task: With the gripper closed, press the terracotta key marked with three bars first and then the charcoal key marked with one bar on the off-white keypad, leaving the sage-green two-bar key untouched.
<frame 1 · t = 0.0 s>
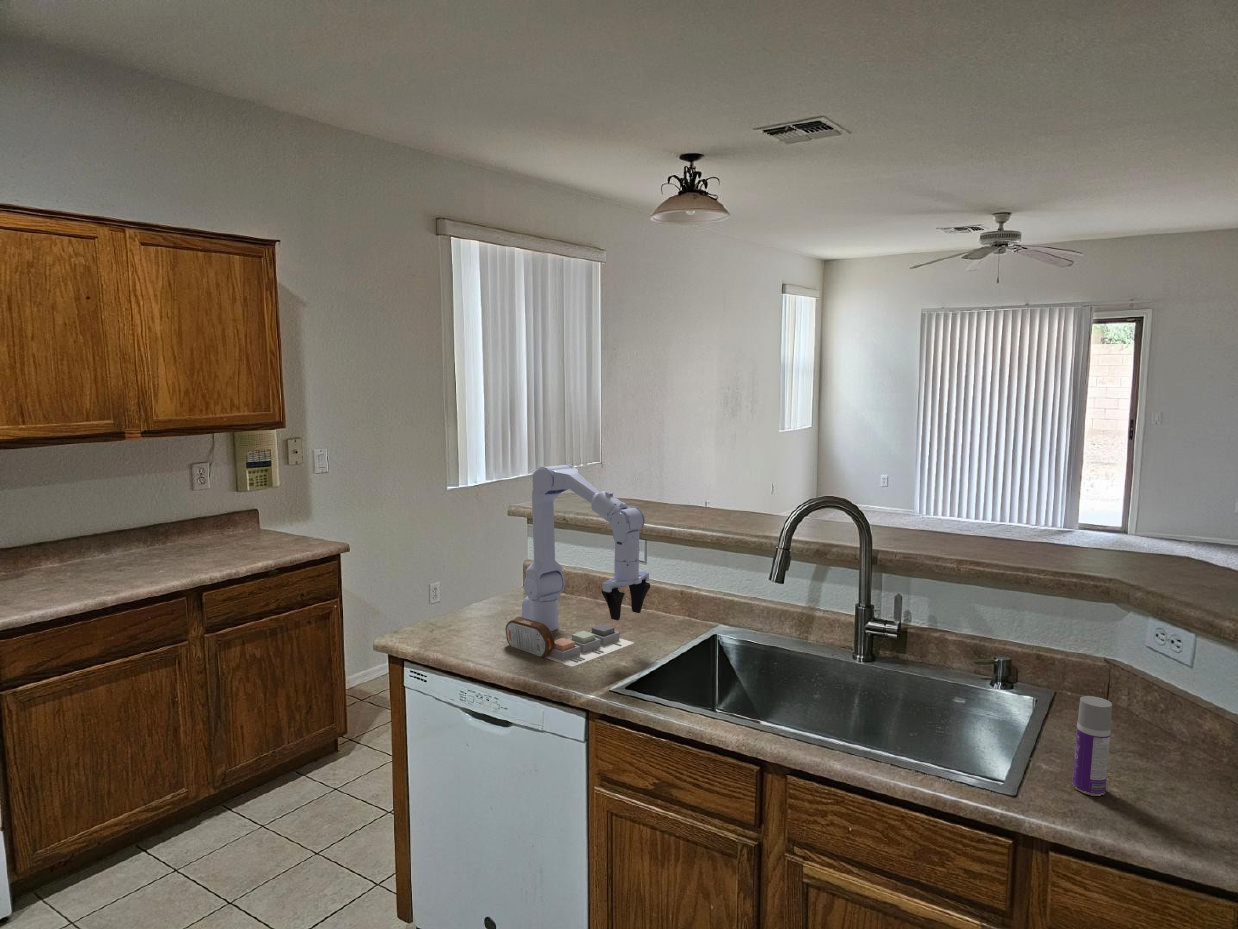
hand: (625, 615, 185), 10 cm above the worktop, tool pointing down, fingers open, 7 cm apart
container: (1088, 790, 128), on the worktop
key two: (583, 638, 189), point 3 cm above the worktop, slide at 0.0 cm
tin: (529, 655, 186), on the worktop, touching keypad
keypad: (587, 652, 188), on the worktop
key one: (603, 631, 194), point 3 cm above the worktop, slide at 0.0 cm
key three: (562, 646, 184), point 3 cm above the worktop, slide at 0.1 cm
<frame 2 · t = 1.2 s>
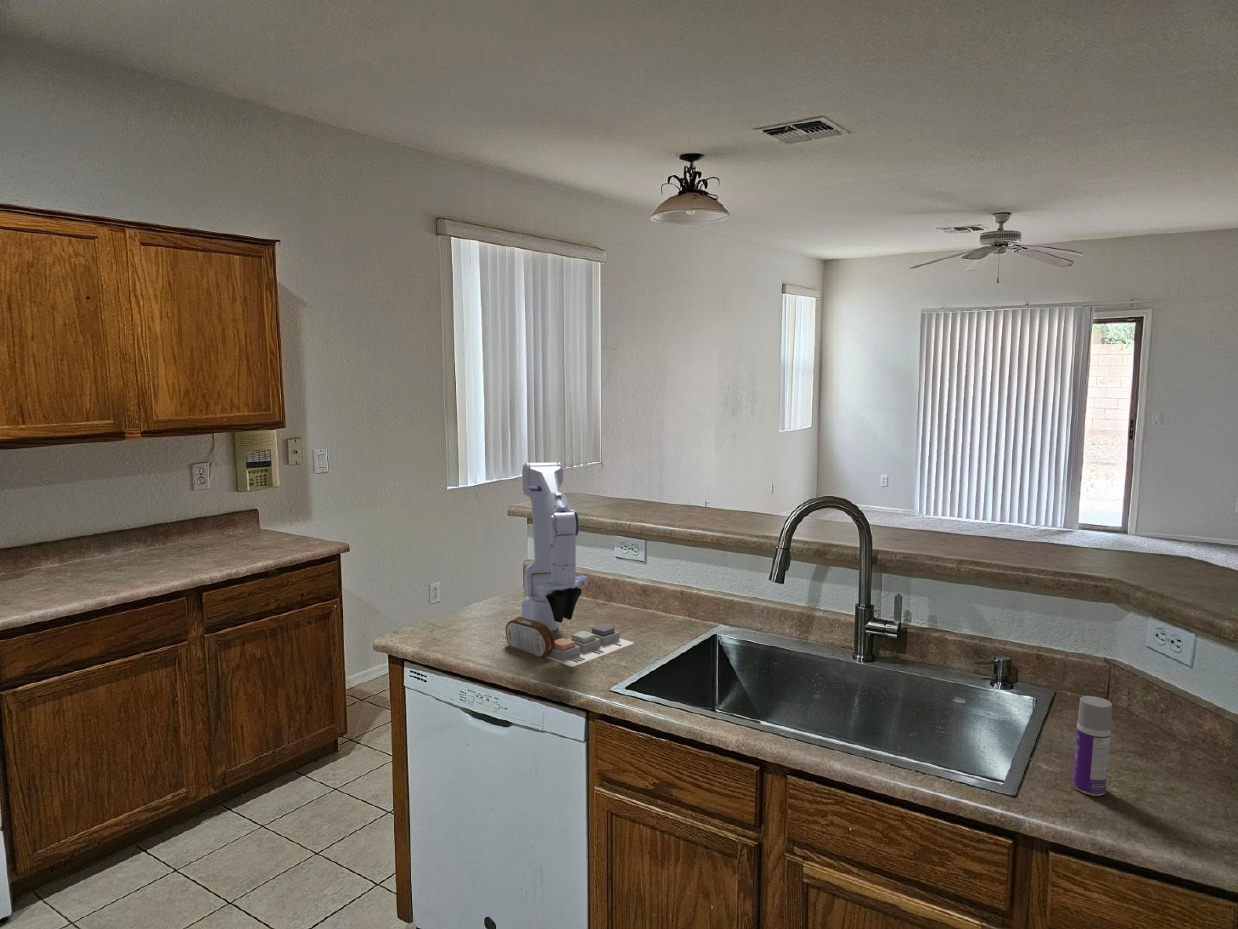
hand: (563, 620, 183), 9 cm above the worktop, tool pointing down, fingers closed
nothing on the worktop moved.
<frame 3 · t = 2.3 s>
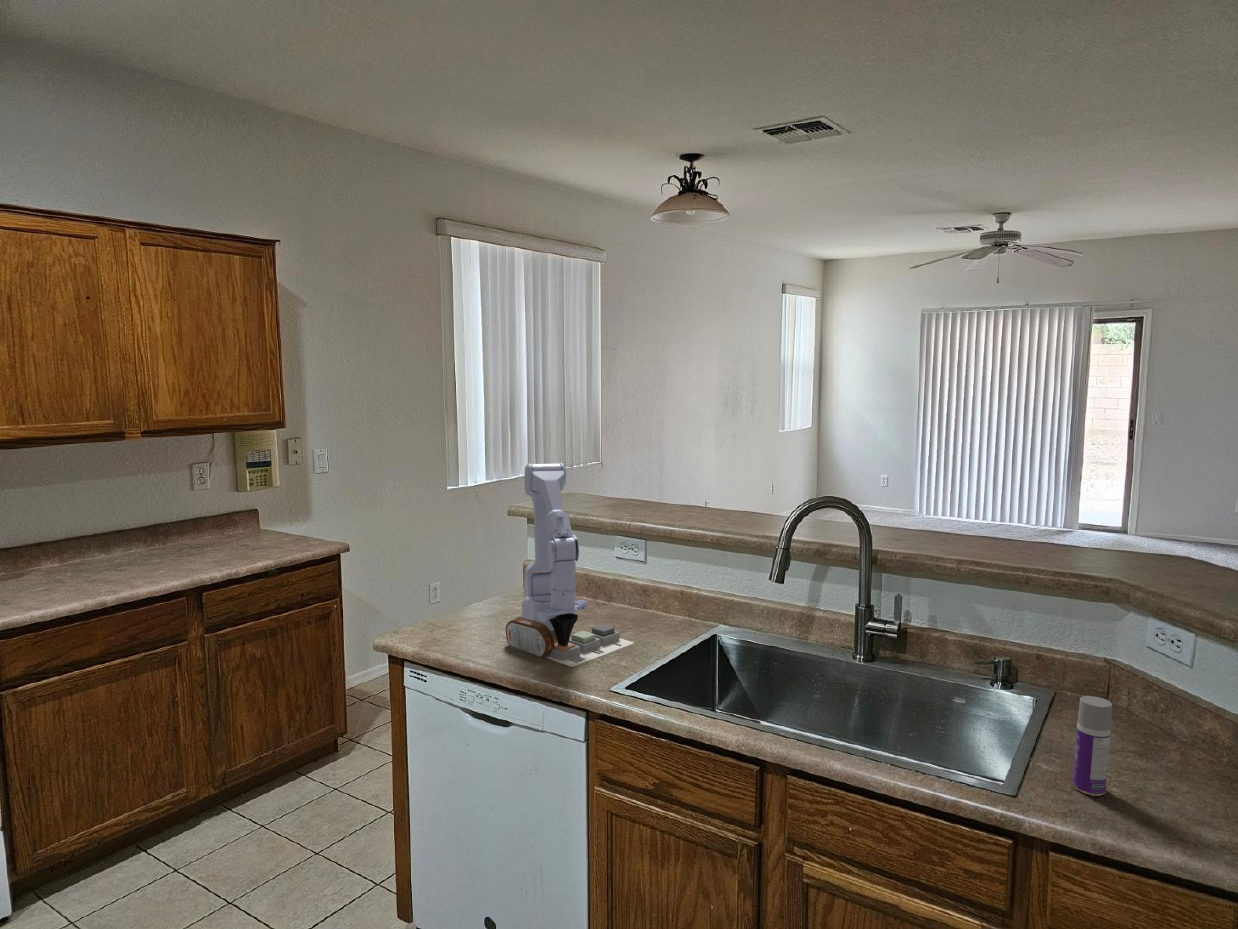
hand: (562, 644, 184), 3 cm above the worktop, tool pointing down, fingers closed, pressing on key three
key three: (562, 648, 184), point 2 cm above the worktop, slide at 0.7 cm, touching gripper
everything else where it was.
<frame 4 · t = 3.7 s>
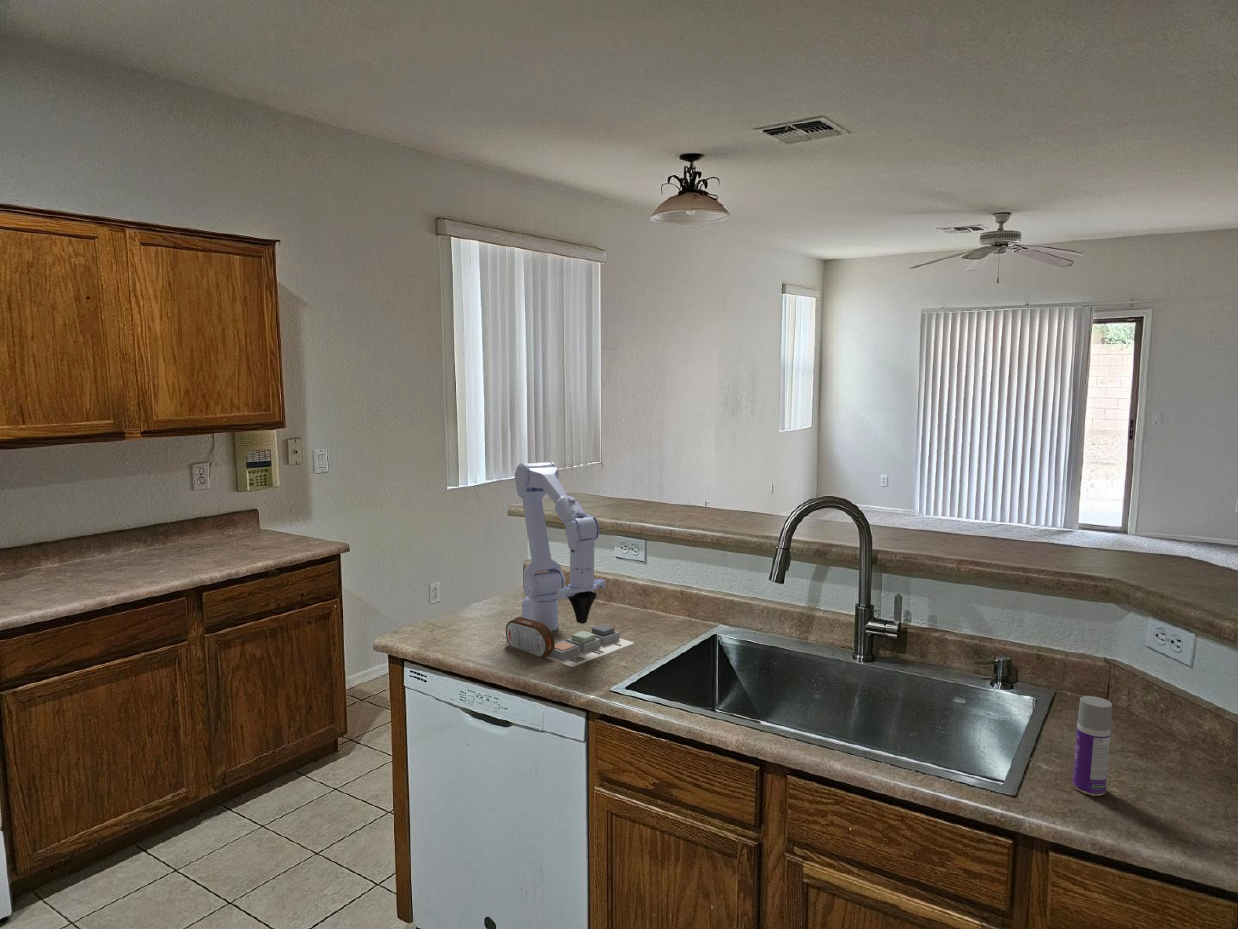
hand: (581, 622, 188), 7 cm above the worktop, tool pointing down, fingers closed
key three: (562, 650, 184), point 2 cm above the worktop, slide at 1.1 cm
everything else where it was.
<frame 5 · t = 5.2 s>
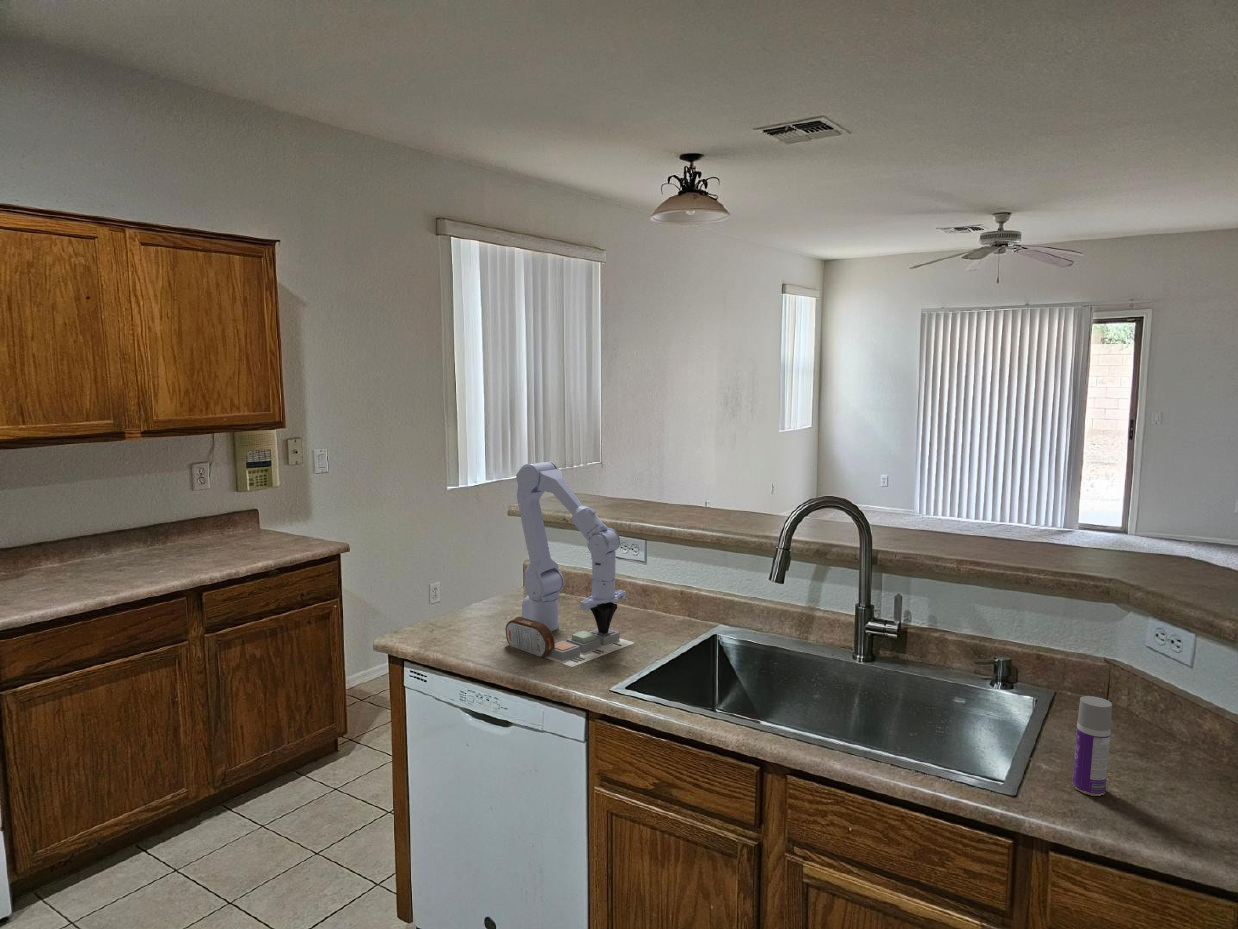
hand: (603, 632, 194), 3 cm above the worktop, tool pointing down, fingers closed, pressing on key one
key one: (603, 635, 194), point 2 cm above the worktop, slide at 1.1 cm, touching gripper
everything else where it was.
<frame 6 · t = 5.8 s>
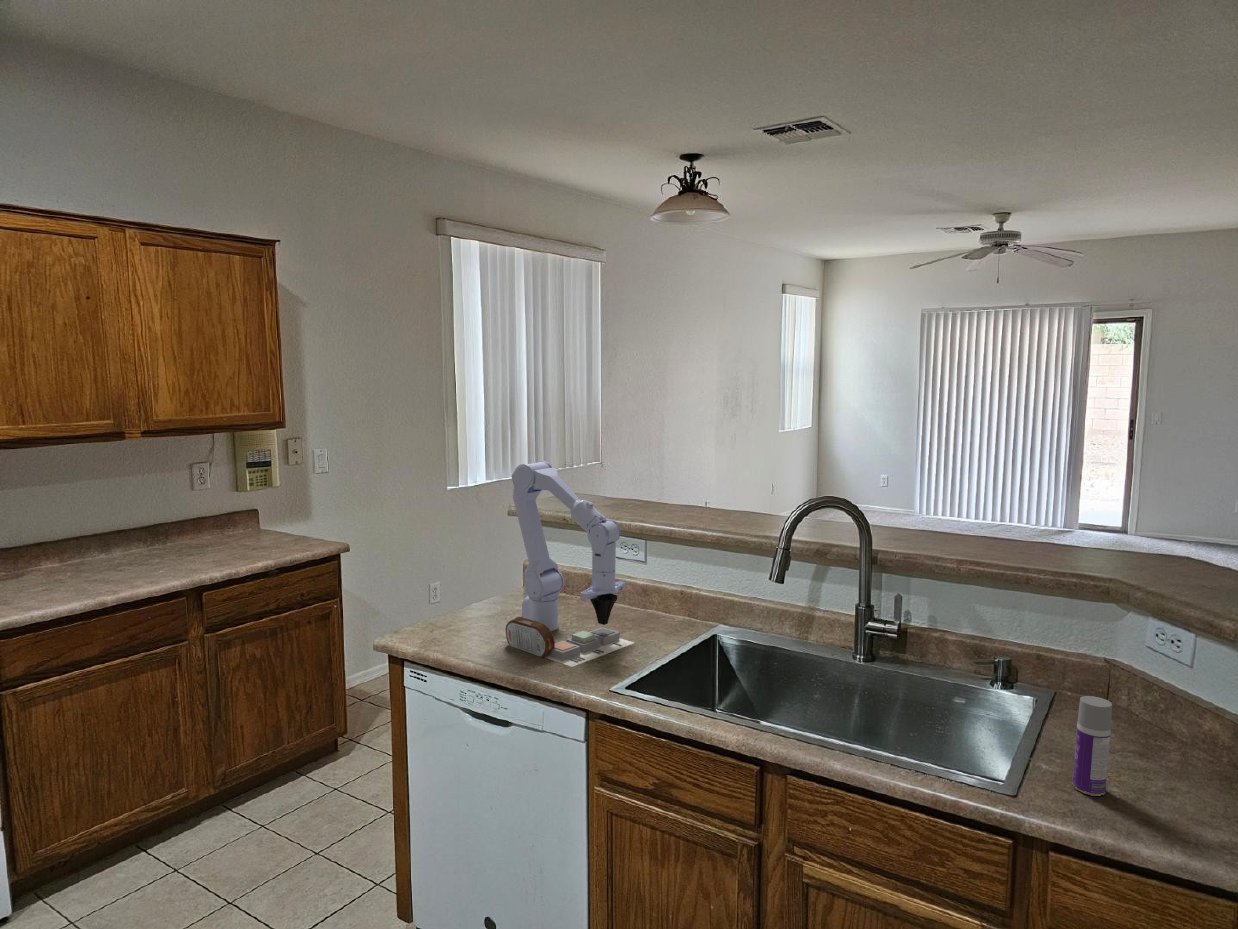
hand: (602, 623, 194), 5 cm above the worktop, tool pointing down, fingers closed
key one: (603, 635, 194), point 2 cm above the worktop, slide at 1.1 cm
everything else where it was.
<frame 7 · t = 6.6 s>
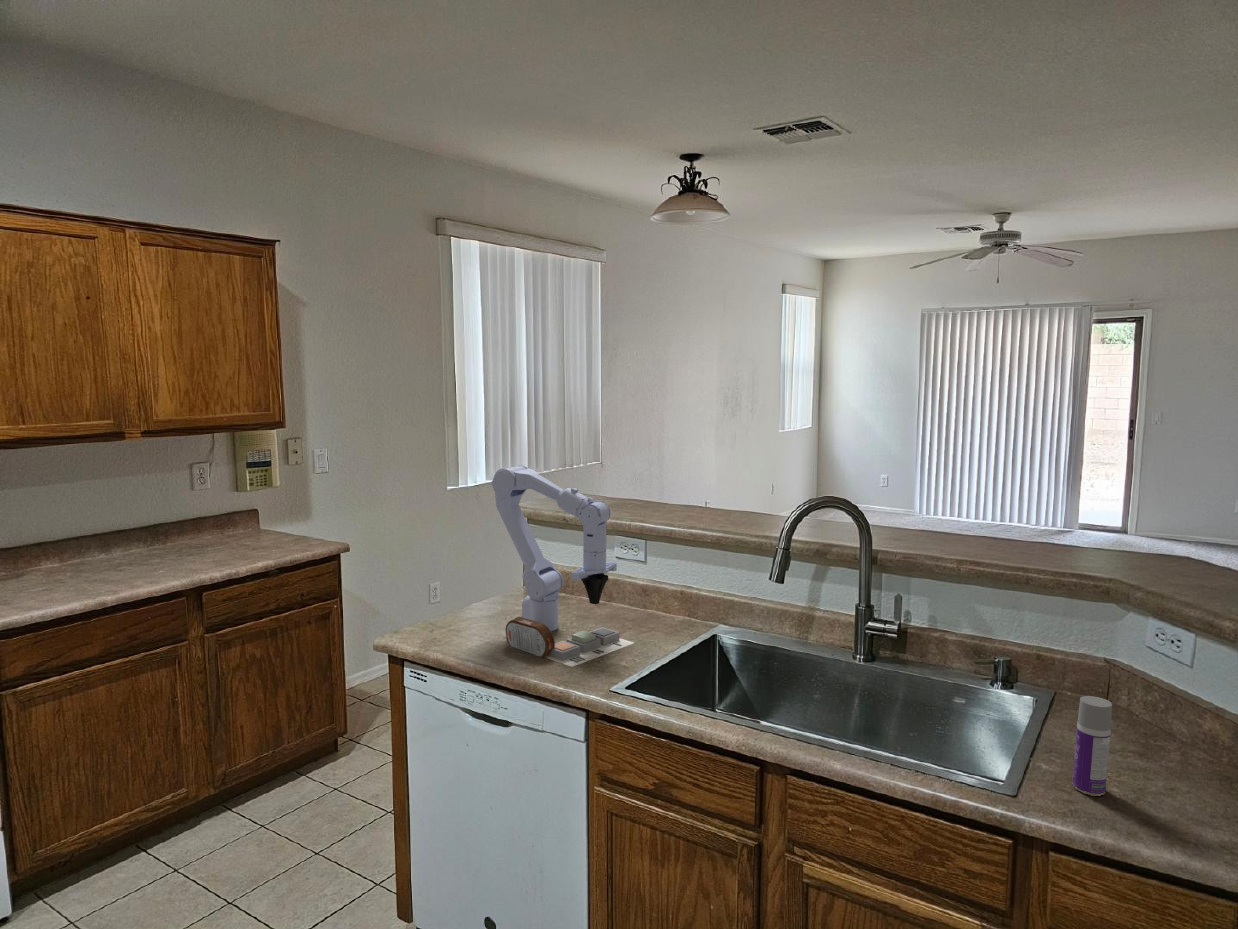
hand: (594, 603, 197), 9 cm above the worktop, tool pointing down, fingers closed
nothing on the worktop moved.
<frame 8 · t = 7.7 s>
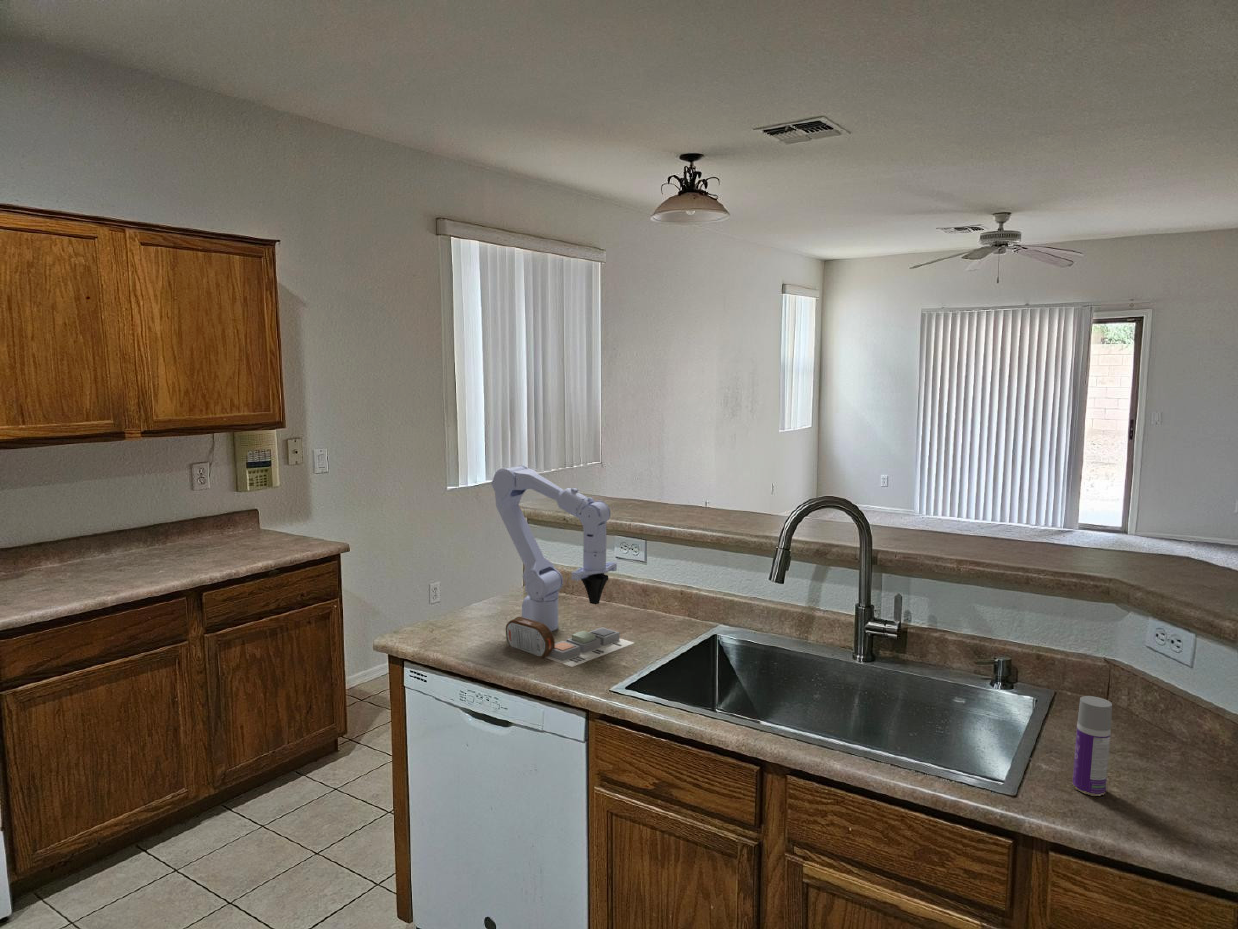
hand: (594, 603, 197), 9 cm above the worktop, tool pointing down, fingers closed
nothing on the worktop moved.
at the end: key three slide at 1.1 cm; key one slide at 1.1 cm; key two slide at 0.0 cm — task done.
